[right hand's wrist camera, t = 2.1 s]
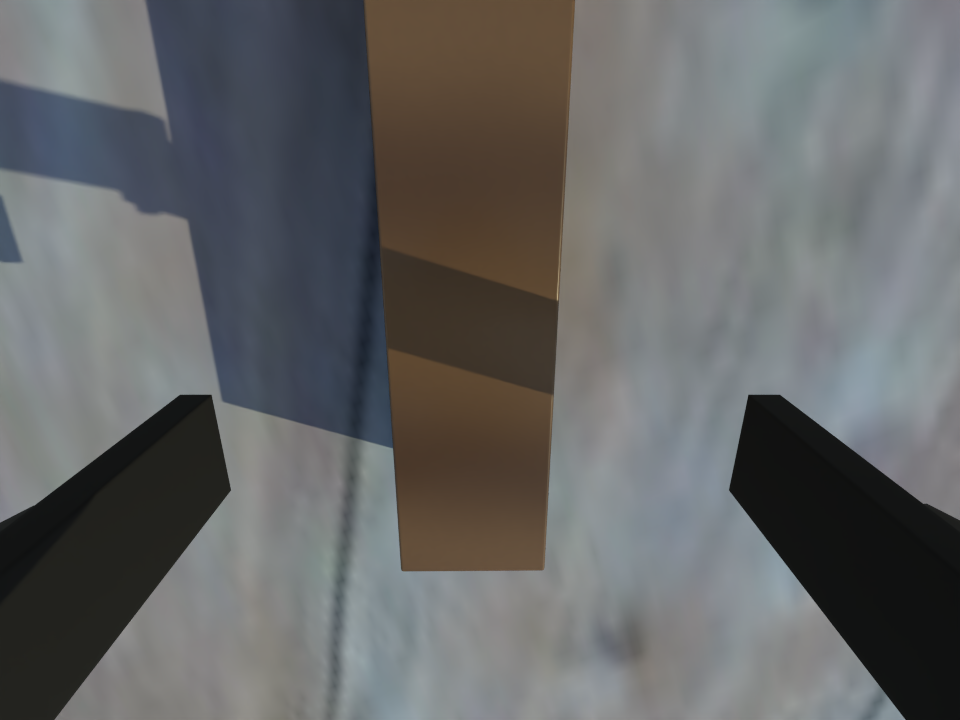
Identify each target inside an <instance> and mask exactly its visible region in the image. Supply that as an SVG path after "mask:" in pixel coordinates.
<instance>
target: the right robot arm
mask: <svg viewBox="0 0 960 720" xmlns="http://www.w3.org/2000/svg"><path fill="white" fill-rule="evenodd" d="M230 491H231V488H230V483H229V478H228V473H227V468H226V464H225V459H224V454H223V449H222V444H221V439H220V434H219V429H218V424H217V419H216V415H215V410H214V405H213V400H212V395H179V396H178V397H177V398H175V399H174V400H173V401H171V402H170V403H169V404H167V405H166V406H165V407H164V408H162V409H161V410H160V411H158V412H157V413H156V414H154V415H153V416H152V417H150V418H149V419H148V420H146V421H145V422H144V423H143V424H141V425H140V426H139V427H137V428H136V429H135V430H133V431H132V432H131V433H129V434H128V435H127V436H125V437H124V438H123V439H121V440H120V441H119V442H118V443H116V444H115V445H114V446H112V447H111V448H110V449H108V450H107V451H106V452H104V453H103V454H102V455H100V456H99V457H98V458H97V459H95V460H94V461H93V462H91V463H90V464H89V465H87V466H86V467H85V468H83V469H82V470H81V471H79V472H78V473H77V474H76V475H74V476H73V477H72V478H70V479H69V480H68V481H66V482H65V483H64V484H62V485H61V486H60V487H58V488H57V489H56V490H54V491H53V492H52V493H51V494H49V495H48V496H47V497H45V498H44V499H43V500H41V501H40V502H39V503H37V504H36V505H35V506H32V507H30V508H28V509H26V510H24V511H22V512H20V513H18V514H16V515H14V516H12V517H11V518H9V519H7V520H5V521H3V522H1V523H0V720H54V719H55V718H56V717H57V716H58V714H59V713H60V712H61V710H62V709H63V708H64V706H65V705H66V704H67V703H68V701H69V700H70V699H71V697H72V696H73V695H74V693H75V692H76V691H77V690H78V688H79V687H80V686H81V684H82V683H83V682H84V680H85V679H86V678H87V677H88V675H89V674H90V673H91V671H92V670H93V669H94V667H95V666H96V665H97V664H98V662H99V661H100V660H101V658H102V657H103V656H104V654H105V653H106V652H107V651H108V649H109V648H110V647H111V645H112V644H113V643H114V641H115V640H116V639H117V638H118V636H119V635H120V634H121V632H122V631H123V630H124V628H125V627H126V626H127V625H128V623H129V622H130V621H131V619H132V618H133V617H134V615H135V614H136V613H137V612H138V610H139V609H140V608H141V606H142V605H143V604H144V602H145V601H146V600H147V599H148V597H149V596H150V595H151V593H152V592H153V591H154V589H155V588H156V587H157V586H158V584H159V583H160V582H161V580H162V579H163V578H164V577H165V575H166V574H167V573H168V571H169V570H170V569H171V567H172V566H173V565H174V564H175V562H176V561H177V560H178V558H179V557H180V556H181V554H182V553H183V552H184V551H185V549H186V548H187V547H188V545H189V544H190V543H191V541H192V540H193V539H194V538H195V536H196V535H197V534H198V532H199V531H200V530H201V528H202V527H203V526H204V525H205V523H206V522H207V521H208V519H209V518H210V517H211V515H212V514H213V513H214V512H215V510H216V509H217V508H218V506H219V505H220V504H221V502H222V501H223V500H224V499H225V497H226V496H227V495H228V493H229V492H230ZM729 491H730V492H731V493H732V495H733V496H734V497H735V499H736V500H737V501H738V502H739V504H740V505H741V506H742V508H743V509H744V510H745V512H746V513H747V514H748V515H749V517H750V518H751V519H752V521H753V522H754V523H755V525H756V526H757V527H758V528H759V530H760V531H761V532H762V534H763V535H764V536H765V538H766V539H767V540H768V541H769V543H770V544H771V545H772V547H773V548H774V549H775V551H776V552H777V553H778V554H779V556H780V557H781V558H782V560H783V561H784V562H785V564H786V565H787V566H788V567H789V569H790V570H791V571H792V573H793V574H794V575H795V577H796V578H797V579H798V580H799V582H800V583H801V584H802V586H803V587H804V588H805V589H806V591H807V592H808V593H809V595H810V596H811V597H812V599H813V600H814V601H815V602H816V604H817V605H818V606H819V608H820V609H821V610H822V612H823V613H824V614H825V615H826V617H827V618H828V619H829V621H830V622H831V623H832V625H833V626H834V627H835V628H836V630H837V631H838V632H839V634H840V635H841V636H842V638H843V639H844V640H845V641H846V643H847V644H848V645H849V647H850V648H851V649H852V651H853V652H854V653H855V654H856V656H857V657H858V658H859V660H860V661H861V662H862V664H863V665H864V666H865V667H866V669H867V670H868V671H869V673H870V674H871V675H872V677H873V678H874V679H875V680H876V682H877V683H878V684H879V686H880V687H881V688H882V690H883V691H884V692H885V693H886V695H887V696H888V697H889V699H890V700H891V701H892V703H893V704H894V705H895V706H896V708H897V709H898V710H899V712H900V713H901V714H902V716H903V717H904V718H905V719H906V720H960V520H958V519H956V518H954V517H952V516H950V515H948V514H946V513H944V512H942V511H940V510H938V509H936V508H934V507H932V506H930V505H928V504H923V503H921V502H920V501H919V500H917V499H916V498H915V497H913V496H912V495H911V494H909V493H908V492H907V491H906V490H904V489H903V488H902V487H900V486H899V485H898V484H896V483H895V482H894V481H892V480H891V479H890V478H888V477H887V476H886V475H884V474H883V473H882V472H881V471H879V470H878V469H877V468H875V467H874V466H873V465H871V464H870V463H869V462H867V461H866V460H865V459H863V458H862V457H861V456H860V455H858V454H857V453H856V452H854V451H853V450H852V449H850V448H849V447H848V446H846V445H845V444H844V443H842V442H841V441H840V440H839V439H837V438H836V437H835V436H833V435H832V434H831V433H829V432H828V431H827V430H825V429H824V428H823V427H821V426H820V425H819V424H817V423H816V422H815V421H814V420H812V419H811V418H810V417H808V416H807V415H806V414H804V413H803V412H802V411H800V410H799V409H798V408H796V407H795V406H794V405H793V404H791V403H790V402H789V401H787V400H786V399H785V398H783V397H782V396H781V395H748V400H747V405H746V410H745V415H744V419H743V424H742V429H741V434H740V439H739V444H738V449H737V454H736V459H735V464H734V468H733V473H732V478H731V483H730V488H729Z"/></svg>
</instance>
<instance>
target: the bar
mask: <svg viewBox="0 0 960 720" xmlns="http://www.w3.org/2000/svg"><path fill="white" fill-rule="evenodd" d="M363 3H364V18H365V33H366V48H367V63H368V78H369V93H370V108H371V123H372V138H373V153H374V168H375V183H376V198H377V213H378V228H379V243H380V258H381V273H382V288H383V303H384V318H385V333H386V348H387V363H388V379H389V394H390V409H391V424H392V439H393V454H394V469H395V484H396V499H397V514H398V529H399V544H400V559H401V570H402V571H516V570H544V565H545V546H546V528H547V509H548V491H549V472H550V454H551V435H552V417H553V398H554V380H555V361H556V343H557V325H558V306H559V288H560V269H561V251H562V232H563V214H564V195H565V177H566V158H567V140H568V121H569V103H570V84H571V66H572V47H573V29H574V10H575V0H363Z"/></svg>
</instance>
